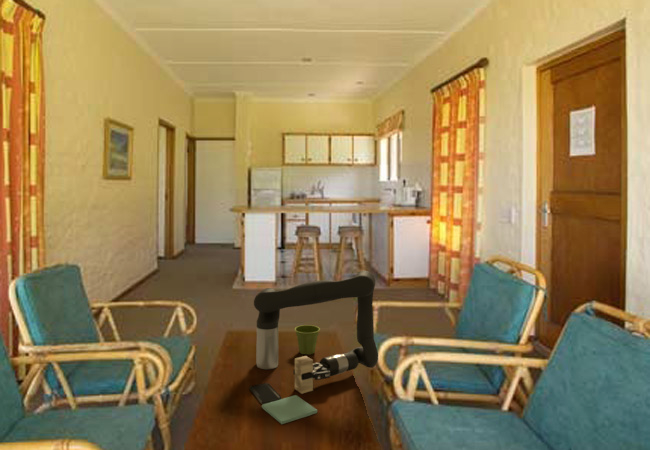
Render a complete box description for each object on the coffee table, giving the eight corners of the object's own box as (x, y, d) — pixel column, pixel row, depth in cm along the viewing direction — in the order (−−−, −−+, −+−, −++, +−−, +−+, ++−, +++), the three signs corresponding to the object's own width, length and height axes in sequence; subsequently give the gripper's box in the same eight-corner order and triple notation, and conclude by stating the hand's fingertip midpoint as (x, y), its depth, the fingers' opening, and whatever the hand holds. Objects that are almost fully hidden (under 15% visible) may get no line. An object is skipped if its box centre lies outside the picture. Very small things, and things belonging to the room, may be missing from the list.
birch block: (294, 388, 180) (294, 358, 179) (305, 385, 183) (305, 355, 182) (301, 393, 176) (301, 362, 175) (312, 390, 179) (312, 359, 178)
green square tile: (261, 407, 165) (261, 404, 165) (295, 397, 173) (295, 394, 173) (281, 424, 154) (281, 421, 154) (317, 412, 162) (317, 410, 162)
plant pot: (289, 353, 218) (289, 329, 217) (303, 346, 228) (303, 323, 227) (310, 358, 212) (310, 334, 211) (324, 351, 222) (324, 327, 221)
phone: (267, 382, 184) (282, 398, 171) (267, 385, 184) (282, 401, 171) (248, 386, 181) (261, 402, 167) (248, 389, 181) (261, 405, 168)
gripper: (323, 350, 193) (288, 359, 183) (345, 361, 181) (308, 371, 172) (323, 368, 194) (288, 377, 184) (345, 380, 182) (308, 391, 172)
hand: (298, 374), depth 178 cm, fingers closed on birch block, 5 cm apart
